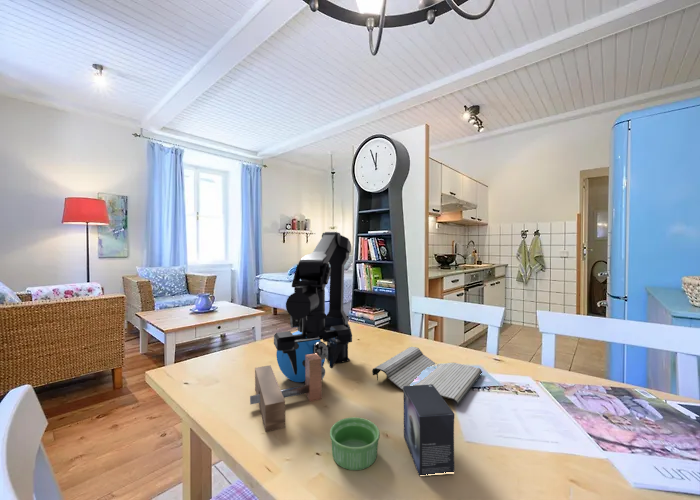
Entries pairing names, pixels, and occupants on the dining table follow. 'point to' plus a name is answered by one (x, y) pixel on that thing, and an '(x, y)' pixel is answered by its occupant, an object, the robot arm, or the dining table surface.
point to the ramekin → (354, 443)
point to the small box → (428, 429)
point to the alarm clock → (302, 358)
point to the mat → (445, 378)
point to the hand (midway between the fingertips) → (313, 370)
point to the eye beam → (270, 398)
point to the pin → (311, 381)
